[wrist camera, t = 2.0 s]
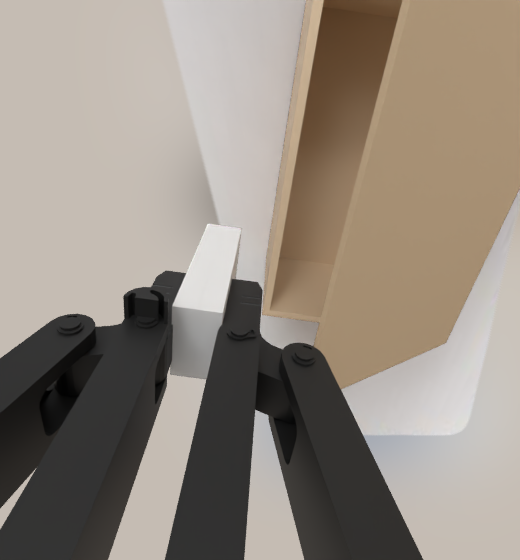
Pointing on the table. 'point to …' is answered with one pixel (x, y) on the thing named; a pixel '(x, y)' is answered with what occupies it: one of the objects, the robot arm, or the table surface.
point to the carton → (324, 147)
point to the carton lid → (426, 185)
